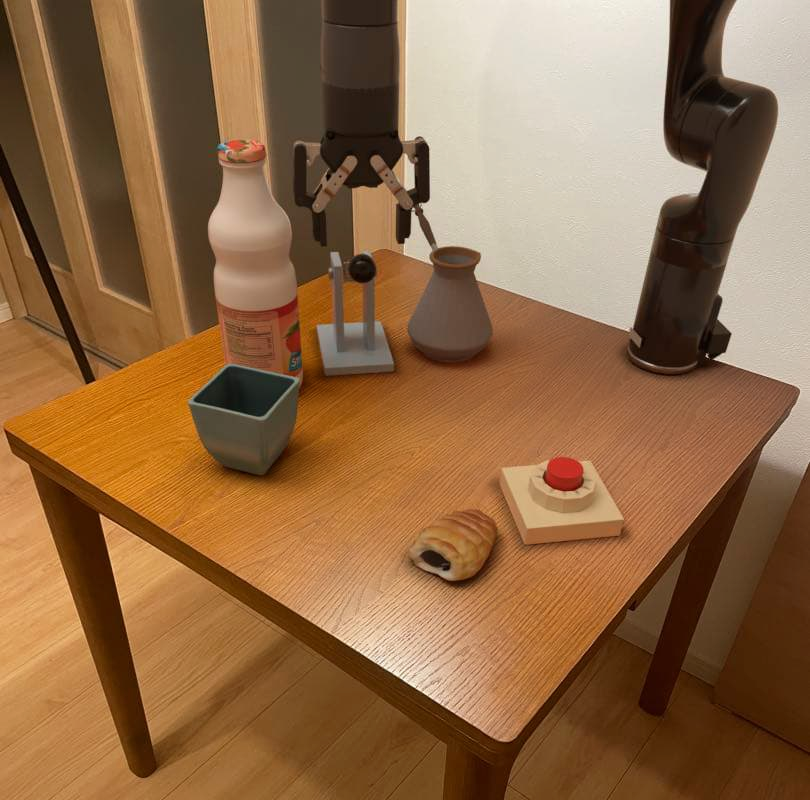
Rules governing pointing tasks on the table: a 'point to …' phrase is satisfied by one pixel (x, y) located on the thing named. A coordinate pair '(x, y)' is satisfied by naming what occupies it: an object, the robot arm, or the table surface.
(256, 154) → the fruit juice
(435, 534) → the pastry
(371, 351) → the bracket
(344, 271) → the lever
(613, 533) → the button block
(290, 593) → the table surface
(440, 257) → the coffee pot
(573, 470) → the button
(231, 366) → the flower pot
